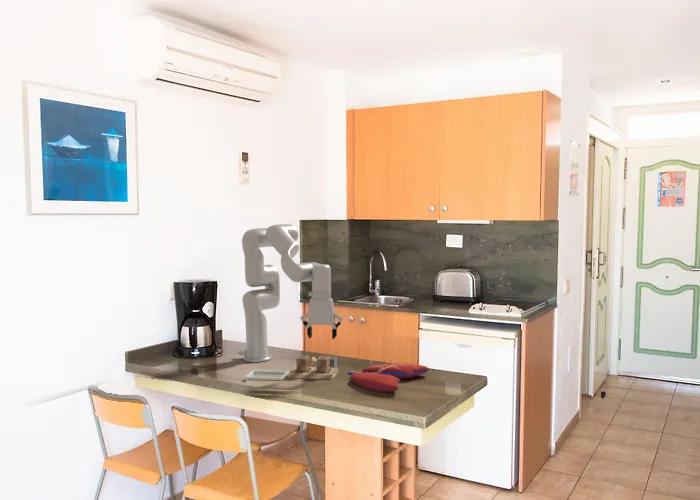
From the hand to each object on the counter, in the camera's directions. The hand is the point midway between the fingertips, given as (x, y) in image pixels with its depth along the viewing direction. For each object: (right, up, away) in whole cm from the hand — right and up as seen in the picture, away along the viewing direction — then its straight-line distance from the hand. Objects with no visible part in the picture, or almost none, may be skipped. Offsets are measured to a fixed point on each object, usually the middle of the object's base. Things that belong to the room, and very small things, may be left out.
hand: (322, 337), depth 242 cm
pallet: (-3, -16, +2) cm, 17 cm away
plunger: (-2, -13, +11) cm, 17 cm away
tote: (-22, -17, +1) cm, 27 cm away
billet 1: (-8, -15, +2) cm, 17 cm away
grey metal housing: (+2, -15, +11) cm, 19 cm away
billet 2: (+1, -15, +1) cm, 15 cm away
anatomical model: (+23, -17, -5) cm, 29 cm away
